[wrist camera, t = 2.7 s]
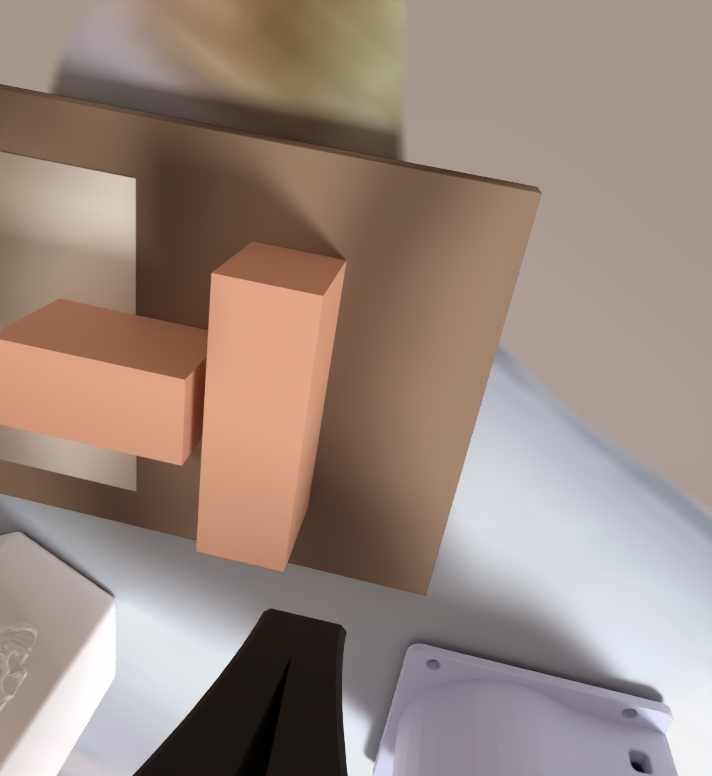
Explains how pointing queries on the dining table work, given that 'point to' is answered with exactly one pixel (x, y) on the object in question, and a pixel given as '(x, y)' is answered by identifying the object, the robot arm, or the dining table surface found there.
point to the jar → (48, 656)
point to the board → (192, 302)
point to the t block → (197, 391)
